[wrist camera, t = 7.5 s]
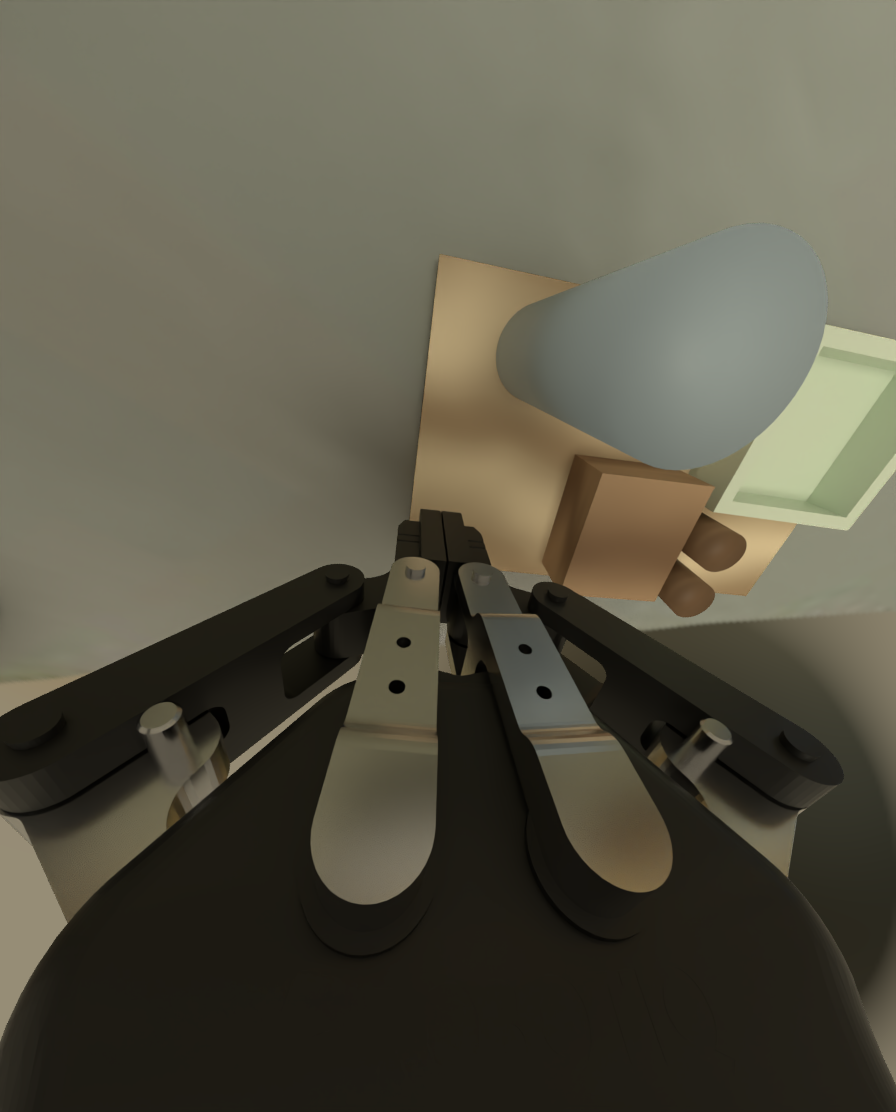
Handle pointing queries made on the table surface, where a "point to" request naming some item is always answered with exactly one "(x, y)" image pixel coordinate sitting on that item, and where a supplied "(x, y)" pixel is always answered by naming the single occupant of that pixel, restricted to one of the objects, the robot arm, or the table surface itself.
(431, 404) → the board
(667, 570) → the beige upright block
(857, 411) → the tray
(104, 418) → the table surface
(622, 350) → the dowel
